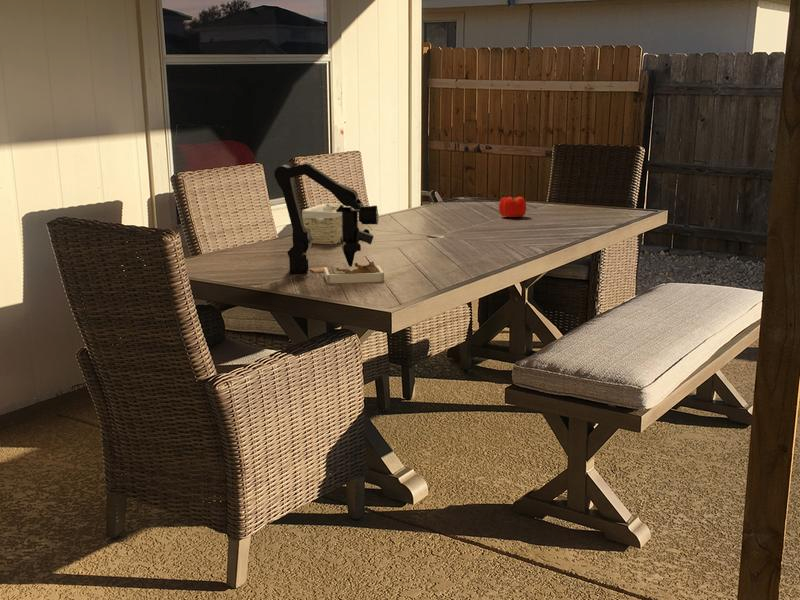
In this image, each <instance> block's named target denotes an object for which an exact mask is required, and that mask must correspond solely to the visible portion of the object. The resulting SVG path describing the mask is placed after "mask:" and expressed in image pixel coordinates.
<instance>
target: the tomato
mask: <svg viewBox="0 0 800 600" xmlns="http://www.w3.org/2000/svg"><path fill="white" fill-rule="evenodd" d="M526 202H527V201H526V199H525V198H524V197H522V196H517V197H512V196H508V197H506V196H503V197H502V198H501V199H500V200H499V205H498V211H499V214H500V215H501V216H502V217H503V216H506V217H505V218H507V217H520V218H522V217H524V216H525V215H526V212H527V203H526Z"/></svg>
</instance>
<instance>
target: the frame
mask: <svg viewBox="0 0 800 600" xmlns="http://www.w3.org/2000/svg"><path fill="white" fill-rule="evenodd" d="M323 267H324V272H323V276H324V279H325V282H326V284H349V283H350V284H352V283H353V284H354V283H357V284H358V283H377V282H378V283H379V282H382V283H383V282H385V272H384V271H383V269H382V267H381V266H380V265H375V267H377V268H378V270H377V272H376V273H357V274H346V273H345V274H343V273H341V274H338V273H335V274H334V273H333V274H330V272H328V269H329V268H328V267H326V266H323Z"/></svg>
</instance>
